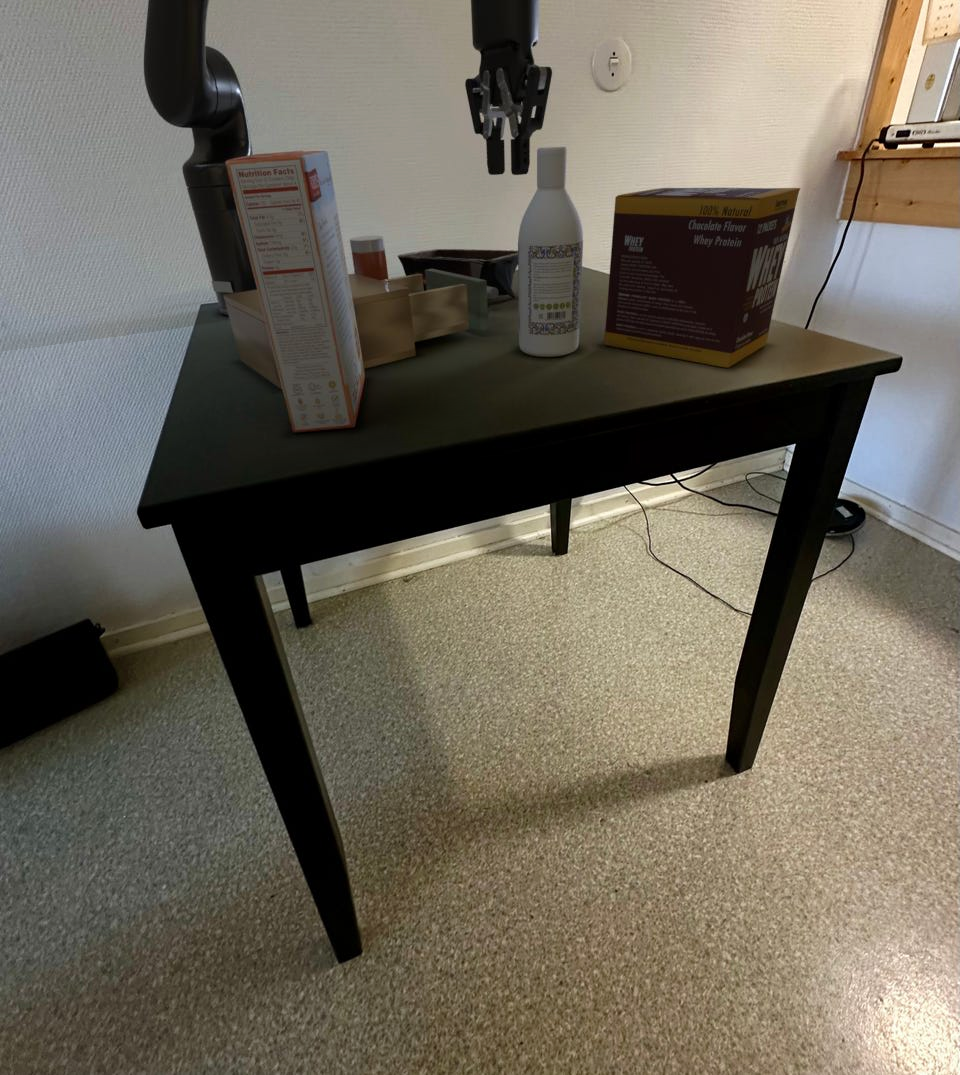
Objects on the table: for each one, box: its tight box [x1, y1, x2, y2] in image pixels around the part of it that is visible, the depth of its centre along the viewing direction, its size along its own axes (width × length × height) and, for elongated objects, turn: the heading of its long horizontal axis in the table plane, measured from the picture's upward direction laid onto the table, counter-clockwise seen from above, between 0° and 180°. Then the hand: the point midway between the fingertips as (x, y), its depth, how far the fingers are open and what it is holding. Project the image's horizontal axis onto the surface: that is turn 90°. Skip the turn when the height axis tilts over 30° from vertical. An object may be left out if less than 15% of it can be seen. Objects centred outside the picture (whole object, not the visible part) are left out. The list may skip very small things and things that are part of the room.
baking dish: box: [397, 248, 518, 299], centre depth 91 cm, size 14×18×10 cm
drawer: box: [381, 269, 499, 343], centre depth 76 cm, size 20×12×6 cm, turn 126°
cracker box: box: [226, 150, 366, 433], centre depth 53 cm, size 14×6×21 cm, turn 5°
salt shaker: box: [349, 235, 389, 280], centre depth 82 cm, size 4×4×11 cm
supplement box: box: [603, 187, 801, 369], centre depth 65 cm, size 10×15×16 cm
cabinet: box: [224, 273, 417, 390], centre depth 70 cm, size 17×14×8 cm
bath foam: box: [517, 146, 584, 358], centre depth 65 cm, size 7×7×20 cm
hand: (507, 173), depth 76 cm, fingers open, 4 cm apart
